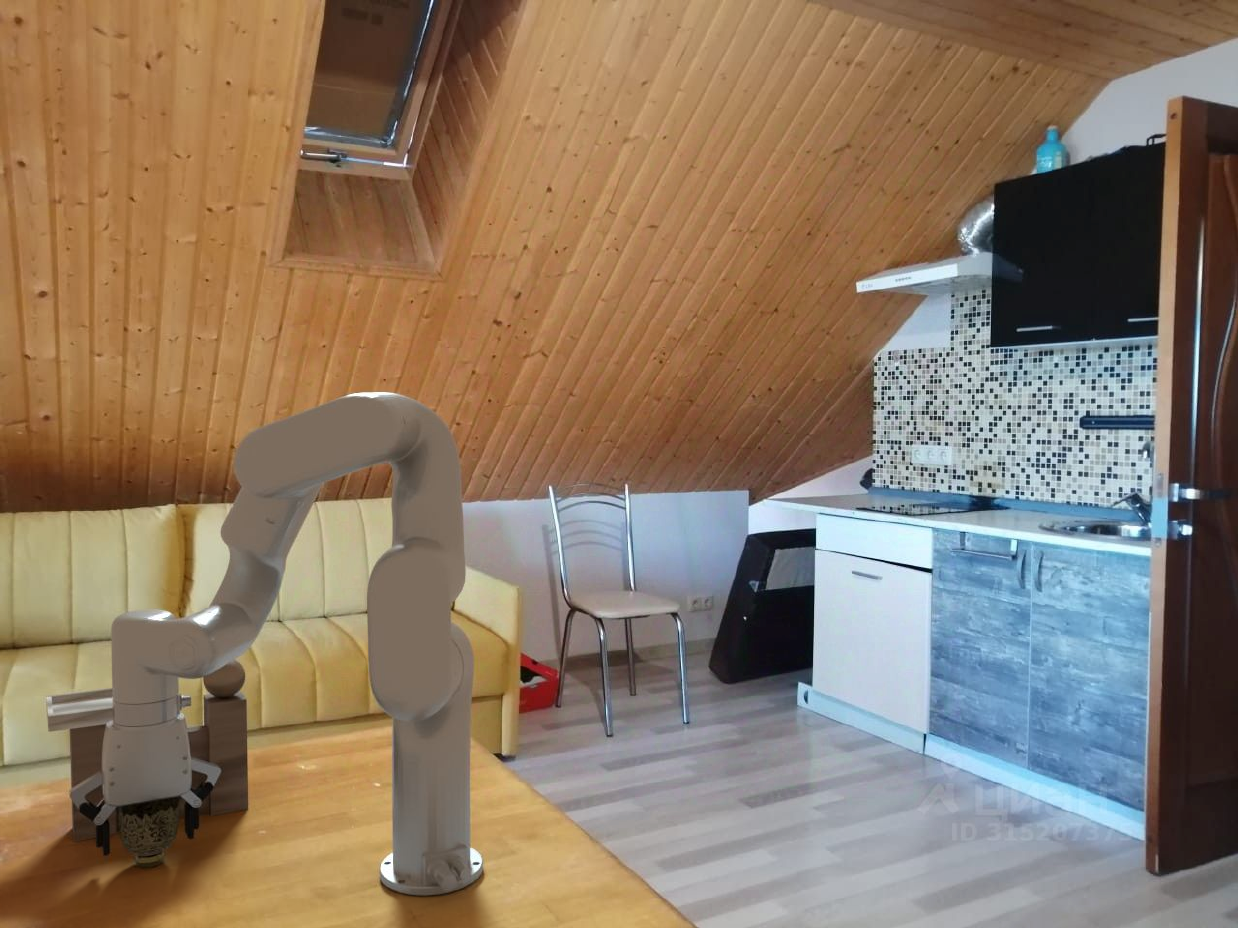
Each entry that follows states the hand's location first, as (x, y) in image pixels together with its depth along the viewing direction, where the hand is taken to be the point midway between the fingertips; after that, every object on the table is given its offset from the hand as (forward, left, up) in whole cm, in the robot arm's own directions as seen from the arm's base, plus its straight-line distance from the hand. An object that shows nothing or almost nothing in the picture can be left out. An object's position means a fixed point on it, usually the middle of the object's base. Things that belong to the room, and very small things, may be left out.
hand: (148, 842), depth 129 cm
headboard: (+14, -2, -3) cm, 14 cm away
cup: (0, 0, -3) cm, 3 cm away
